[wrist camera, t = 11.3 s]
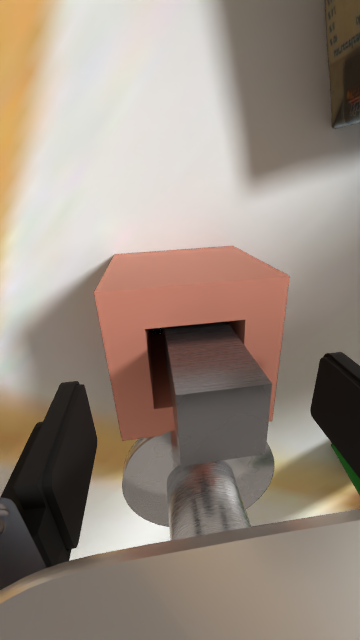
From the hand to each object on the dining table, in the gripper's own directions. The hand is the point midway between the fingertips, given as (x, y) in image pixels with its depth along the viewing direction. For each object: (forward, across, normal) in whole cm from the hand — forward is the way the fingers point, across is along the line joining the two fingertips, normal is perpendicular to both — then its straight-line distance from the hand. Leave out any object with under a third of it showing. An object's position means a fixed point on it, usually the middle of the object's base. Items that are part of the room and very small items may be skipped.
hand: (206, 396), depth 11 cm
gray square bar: (+10, 0, 0) cm, 10 cm away
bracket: (+10, 0, +1) cm, 10 cm away
